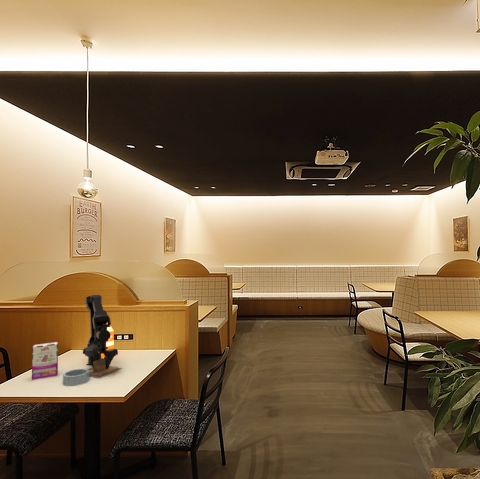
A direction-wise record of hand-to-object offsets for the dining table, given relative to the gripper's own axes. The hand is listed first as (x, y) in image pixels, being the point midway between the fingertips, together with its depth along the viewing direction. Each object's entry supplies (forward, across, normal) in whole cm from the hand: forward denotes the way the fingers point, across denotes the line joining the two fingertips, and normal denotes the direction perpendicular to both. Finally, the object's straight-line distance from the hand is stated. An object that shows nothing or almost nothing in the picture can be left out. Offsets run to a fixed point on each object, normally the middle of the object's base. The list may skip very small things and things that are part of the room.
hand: (100, 368), depth 169 cm
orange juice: (+2, -22, +25) cm, 33 cm away
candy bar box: (+2, -21, -15) cm, 26 cm away
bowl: (+2, 0, -15) cm, 15 cm away
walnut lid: (+2, 0, 0) cm, 2 cm away
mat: (+2, 0, 0) cm, 2 cm away
